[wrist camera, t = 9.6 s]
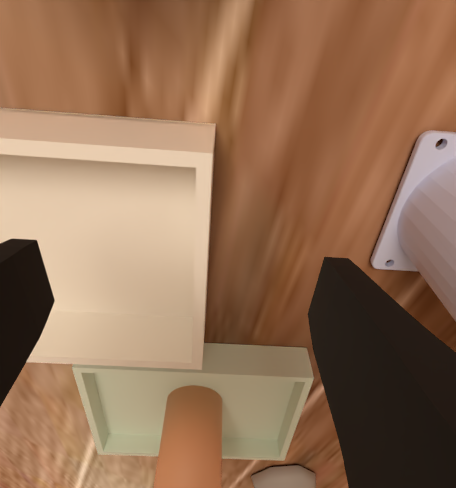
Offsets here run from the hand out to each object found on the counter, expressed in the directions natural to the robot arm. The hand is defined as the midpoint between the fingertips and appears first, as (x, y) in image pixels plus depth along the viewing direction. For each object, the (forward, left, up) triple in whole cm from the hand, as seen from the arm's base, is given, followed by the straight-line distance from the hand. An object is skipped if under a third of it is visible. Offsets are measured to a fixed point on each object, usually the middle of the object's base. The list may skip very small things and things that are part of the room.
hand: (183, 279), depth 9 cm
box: (+6, +5, -9) cm, 12 cm away
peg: (0, +20, -8) cm, 22 cm away
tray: (0, +20, -9) cm, 22 cm away
